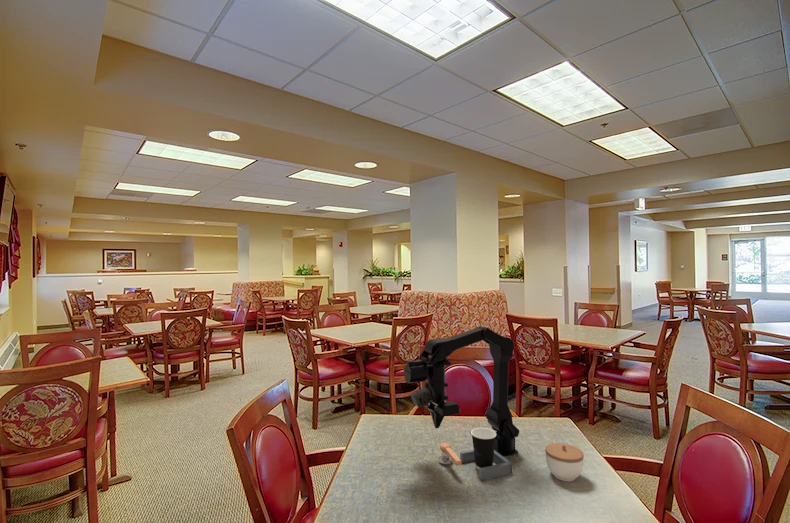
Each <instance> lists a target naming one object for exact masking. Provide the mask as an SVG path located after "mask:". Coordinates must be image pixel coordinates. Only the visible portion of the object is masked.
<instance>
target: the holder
mask: <svg viewBox="0 0 790 523" xmlns="http://www.w3.org/2000/svg"><path fill="white" fill-rule="evenodd" d="M459 453H460V454H459V455H460V457H459V459H460V460H461V464H462V463H468V462H469V463H470V462H475V457H474V448H473V449H469V450H468V449H467V450H463V451H460V452H459ZM493 463H494V464H493V466H488V467H483V468H479V470H478V479H479V480H480V481H485V480H489V479H493V478H498V477H502V476H507V475H513V463H512V462H511V461H510V460H508V459H507V458H506V457H505V456H502V455H500V454H499V453H498V452H496V451H495V450H494V457H493Z"/></svg>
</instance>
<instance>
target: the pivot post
mask: <svg viewBox="0 0 790 523" xmlns="http://www.w3.org/2000/svg"><path fill="white" fill-rule="evenodd" d="M437 462H438V463H439V464H440V465H443V466H444V465H445V466H449V465H452V464H453V463H454V462H453V461H452V459H451V458H450V457H449V456H448V454H447V453H446V452H445V451H442V450H441V456H438V457H437Z"/></svg>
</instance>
